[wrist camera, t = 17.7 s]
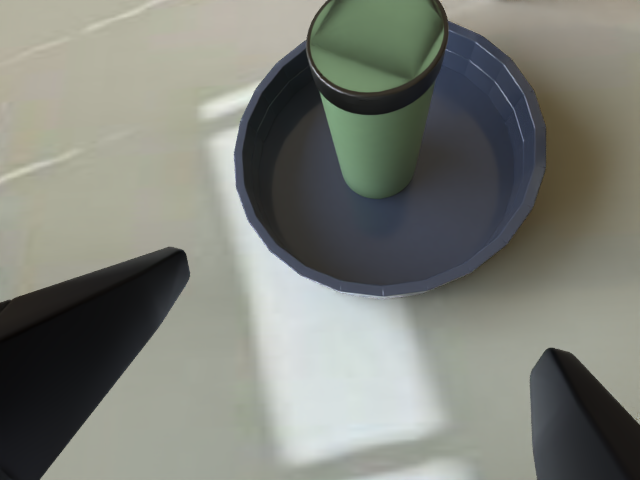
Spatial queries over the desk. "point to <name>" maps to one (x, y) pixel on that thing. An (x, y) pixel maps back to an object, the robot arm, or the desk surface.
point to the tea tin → (377, 84)
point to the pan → (416, 198)
